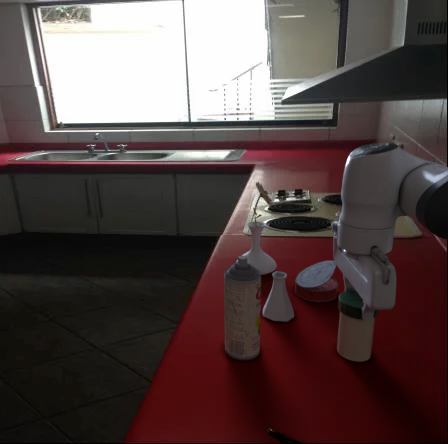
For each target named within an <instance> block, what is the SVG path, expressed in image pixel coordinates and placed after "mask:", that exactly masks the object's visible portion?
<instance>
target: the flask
mask: <svg viewBox="0 0 448 444" xmlns="http://www.w3.org/2000/svg"><path fill="white" fill-rule="evenodd" d="M271 273H272V274H271V275H272V278H273V281H272V287H271V290H270V292H269V294H268V297H267V299H266V301H265V304H264V305H263V308H262V317H264V318H267V319H268V320H271V321H273V322H289V321H291V320H292V319H293V318H295V312H294V311H295V310H294V308H293V305H292V302H291V299H290V296H289V293H288V290H287V286H286V279H287V278H288V276H287V275H288V274H287V273H286V272H284V271H278V270H277V271H273V272H271Z"/></svg>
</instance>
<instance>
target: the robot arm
mask: <svg viewBox="0 0 448 444" xmlns="http://www.w3.org/2000/svg"><path fill="white" fill-rule="evenodd" d="M340 199H341V202H342V208H341V212H340V213H339V216H338V217H339V218H338V220H337V221H332V223H331V232H332V233H333V240H332V242H333V243H332V244H333V245H332V253H333V255H332V256H333V261H334V262H335V264H336V267H337V268H338V269H339V271H340V272H341V273H342V278H343V283H344V292H345V291H357V292H358V294H359V295H360V296H361V297H362V299H363V303H364V306H363V307H361V308H360V316H361V317H362V319H363V320H373V316H374V312H375V310H379V311H391V310H392V309H394V307H395V306H396V305H395V304H396V297H397V295H396V294H397V272H396V268H395V266H394V265H393V263H392V262H391V261H390V258H389V256H388V255H387V254H388V253H390V252H392V250H393V246H394V237H395V231H396V230H395V229H396V221H397V219H398V218H399V217H408V218H410V219H412V220H413V221H415V222H417V223H419V224H420V225H421V226H422V227H423V228H425V229H426V230H427V231H429V233H431V234H433V235H434V236H435V237H437V238H439V239H442V240H447V241H448V166H446V165H443V164H441V163H437V162H433V161H430V160H427V159H424V158H421V157H419V156H416V155H414V154H411V153H410V152H407V151H406V150H404V149H403V148H401V146H400V145H398V144H397V143H394V142H375V143H368V144H364V145H361V146H358V147H357V148H355V149H354V150H352V151H351V152H350V153H349V155H348V157H347V159H346V162H345V165H344V170H343V175H342V183H341V192H340Z"/></svg>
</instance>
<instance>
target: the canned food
mask: <svg viewBox="0 0 448 444" xmlns="http://www.w3.org/2000/svg"><path fill="white" fill-rule="evenodd" d="M336 267H337V265H336V264H335V261H334V260H324V261H319V262H316V263H314V264H311V265H310V266H308V267H305V268H304V269H302V270H301V271H300V272H299V273H298V275H297V276H296V277H295V285H294V293H295V295H297V297H299V298H301V299H303V300H306V301H309V302H315V303H327V302H331V301H333V300H335V299H337V298H338V297H337V296H338V287H339V283H338V281H337V280H336V279H335V278H334V277H332V276H333V275H334V273H335V269H336Z"/></svg>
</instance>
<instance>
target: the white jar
mask: <svg viewBox="0 0 448 444" xmlns="http://www.w3.org/2000/svg"><path fill="white" fill-rule="evenodd" d="M375 322H376V317H375V318H373V320H362V319H355V318H351V317H348V316H346V315H344V314H342V313H341V312H340V311H339V320H338V330H337V341H336V344H337V345H336V351H337V353H338V354H339V356H341V357H342V358H344V359H346V360H348V361H351V362H358V363H359V362H360V363H361V362H366V361H368V360H369V359H371V357H372V350H373V342H374V333H375V325H376V323H375Z"/></svg>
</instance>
